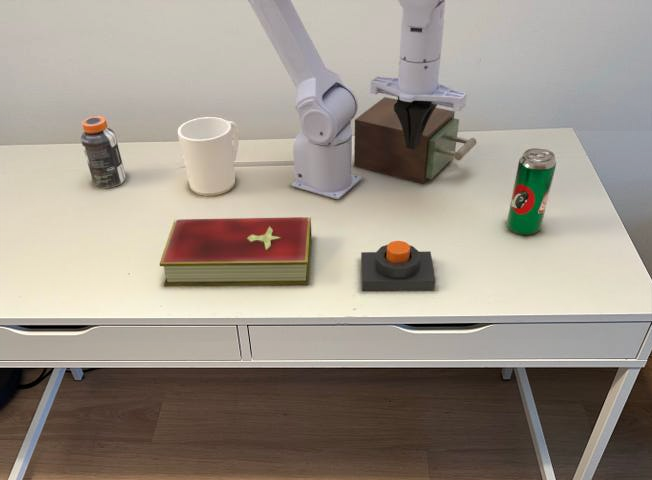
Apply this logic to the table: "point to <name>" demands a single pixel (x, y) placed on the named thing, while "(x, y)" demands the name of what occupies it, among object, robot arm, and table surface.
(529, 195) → the soda can
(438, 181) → the table surface
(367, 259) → the button block
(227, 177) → the mug
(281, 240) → the hardcover book
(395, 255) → the button
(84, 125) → the pill bottle
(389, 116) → the cabinet
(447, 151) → the drawer
